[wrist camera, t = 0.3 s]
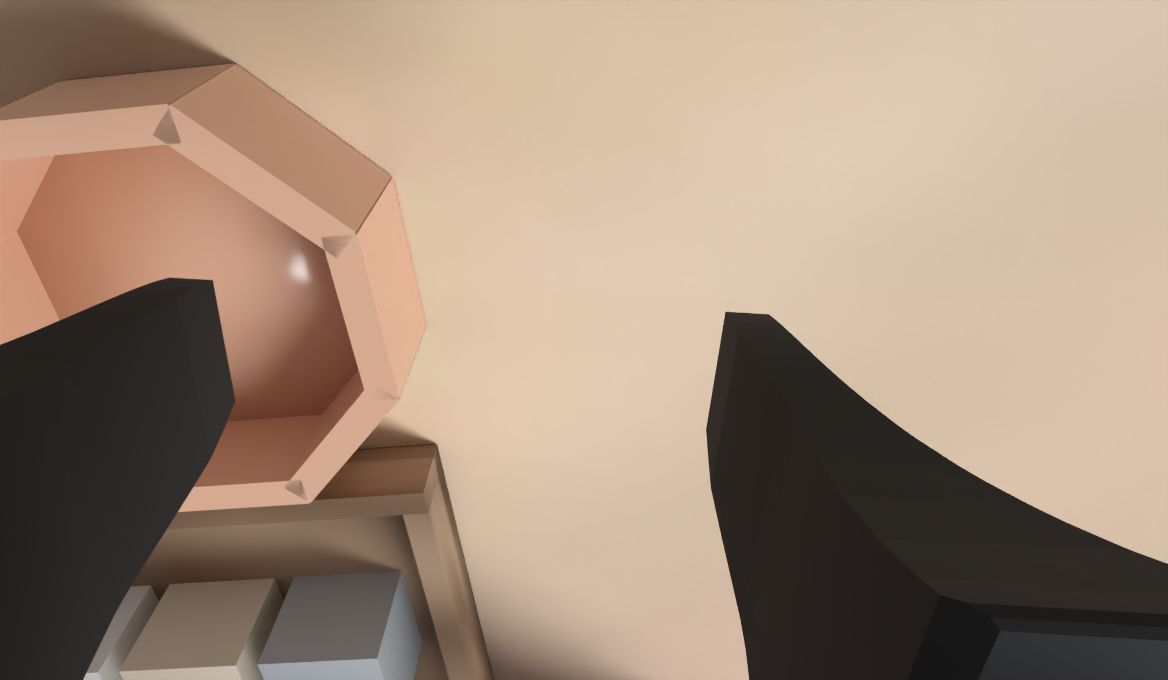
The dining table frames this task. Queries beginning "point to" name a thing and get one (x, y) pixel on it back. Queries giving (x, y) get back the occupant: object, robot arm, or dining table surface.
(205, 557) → the walnut tray
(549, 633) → the dining table surface
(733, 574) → the robot arm
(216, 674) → the beige block
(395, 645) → the blue-grey block
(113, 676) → the white block
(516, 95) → the dining table surface
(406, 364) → the terracotta bowl
